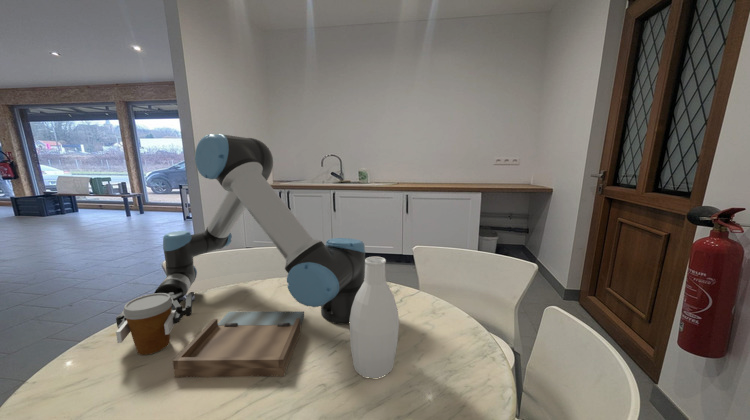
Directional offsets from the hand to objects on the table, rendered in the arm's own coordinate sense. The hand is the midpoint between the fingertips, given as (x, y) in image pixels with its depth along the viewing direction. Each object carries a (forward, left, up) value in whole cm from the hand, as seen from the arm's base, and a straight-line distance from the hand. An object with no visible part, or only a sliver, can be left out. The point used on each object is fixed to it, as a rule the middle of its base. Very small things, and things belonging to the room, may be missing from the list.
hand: (143, 333), depth 63 cm
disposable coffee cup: (+2, -4, -7) cm, 8 cm away
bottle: (-52, +3, -7) cm, 53 cm away
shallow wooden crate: (-21, -6, -7) cm, 23 cm away
